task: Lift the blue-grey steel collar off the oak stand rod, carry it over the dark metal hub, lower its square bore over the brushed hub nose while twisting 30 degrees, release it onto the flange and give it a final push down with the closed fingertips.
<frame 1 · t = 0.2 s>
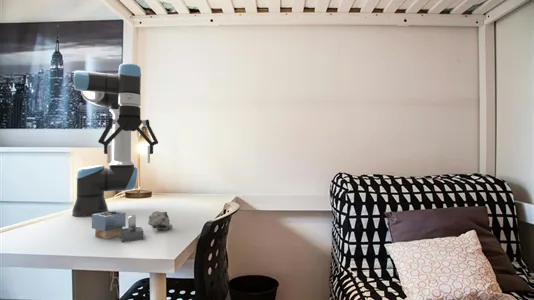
hand: (129, 163, 114), 27 cm above the table, fingers open, 13 cm apart
mineral specimen: (159, 230, 122), on the table
collar: (108, 227, 113), point 3 cm above the table, touching stand
stand: (108, 235, 113), on the table
hub: (131, 238, 109), on the table
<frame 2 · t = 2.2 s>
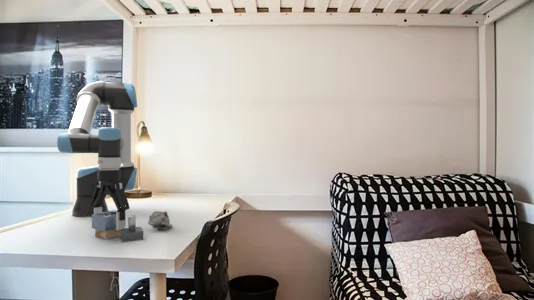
hand: (108, 227, 112), 3 cm above the table, fingers open, 13 cm apart
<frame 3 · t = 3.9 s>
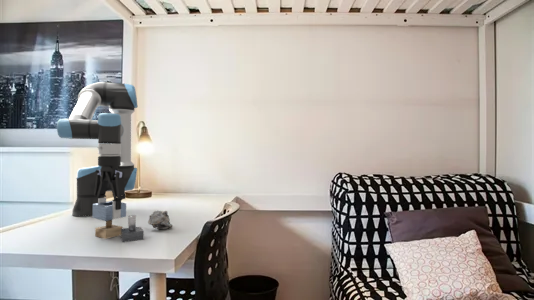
hand: (109, 216, 113), 7 cm above the table, fingers closed on collar, 8 cm apart
collar: (109, 217, 113), point 7 cm above the table, touching gripper
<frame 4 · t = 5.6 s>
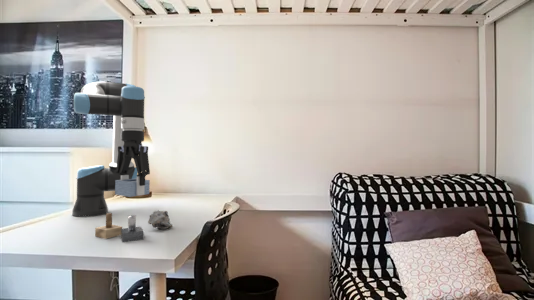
hand: (132, 193, 109), 16 cm above the table, fingers closed on collar, 8 cm apart
collar: (132, 194, 109), point 16 cm above the table, touching gripper
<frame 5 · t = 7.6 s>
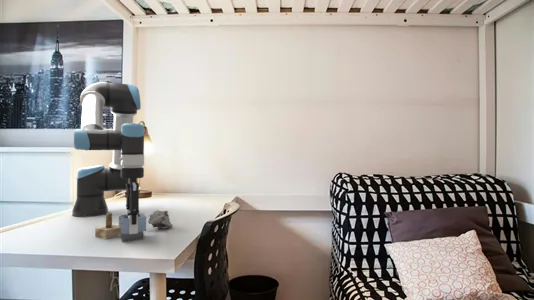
hand: (131, 230, 109), 3 cm above the table, fingers closed on collar, 8 cm apart
collar: (132, 229, 109), point 3 cm above the table, touching gripper, hub
when the fingers open (3 cm above the table, at t = 7.9 s): collar stays where it is, resting on hub.
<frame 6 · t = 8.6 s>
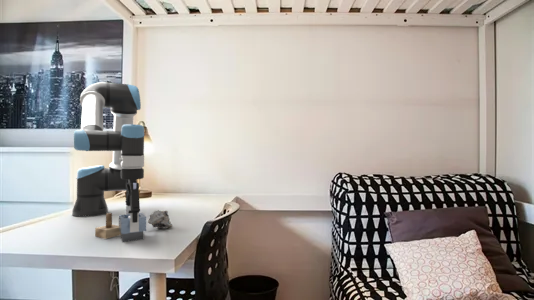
hand: (132, 227, 109), 4 cm above the table, fingers open, 13 cm apart
collar: (132, 229, 109), point 3 cm above the table, touching hub
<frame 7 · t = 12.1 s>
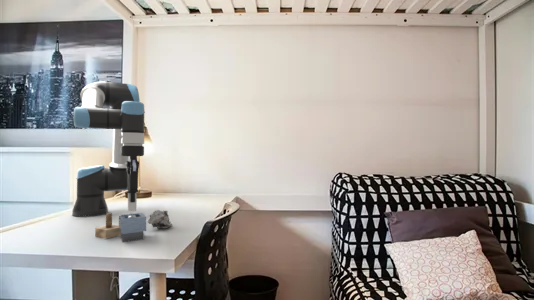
hand: (132, 210, 109), 10 cm above the table, fingers closed
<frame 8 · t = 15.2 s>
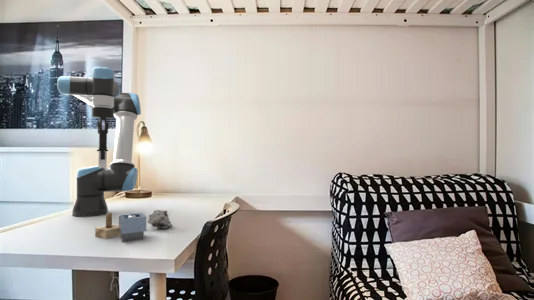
hand: (102, 167, 119), 24 cm above the table, fingers closed
at the end: collar 0.1 cm off-centre on the hub, point 3.0 cm above the hub's base; collar tilted 0°; the gripper is holding nothing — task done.
